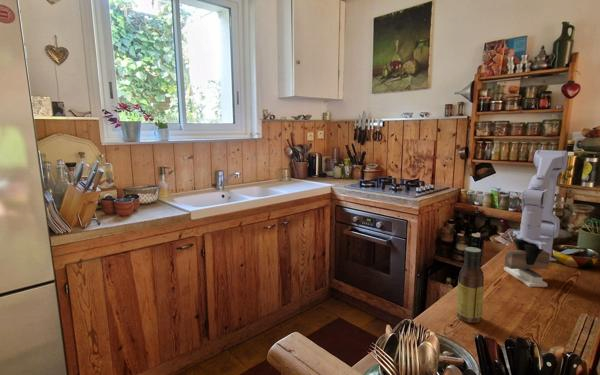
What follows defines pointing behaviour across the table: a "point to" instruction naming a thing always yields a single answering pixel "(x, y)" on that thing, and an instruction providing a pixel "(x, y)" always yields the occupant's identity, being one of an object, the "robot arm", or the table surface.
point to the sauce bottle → (470, 287)
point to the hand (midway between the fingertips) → (526, 262)
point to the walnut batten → (518, 260)
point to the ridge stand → (527, 277)
